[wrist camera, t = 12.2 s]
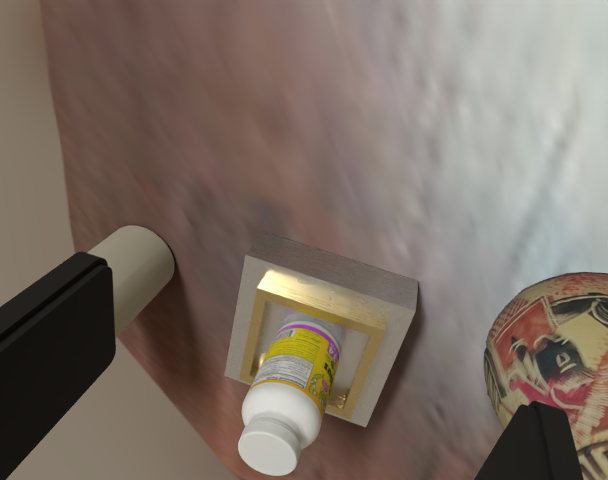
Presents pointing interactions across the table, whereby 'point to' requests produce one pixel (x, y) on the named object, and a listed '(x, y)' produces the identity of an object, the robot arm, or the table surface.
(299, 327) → the supplement bottle
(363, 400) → the white gold-rimmed box
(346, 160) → the table surface
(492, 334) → the ceramic jug
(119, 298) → the travel mug
